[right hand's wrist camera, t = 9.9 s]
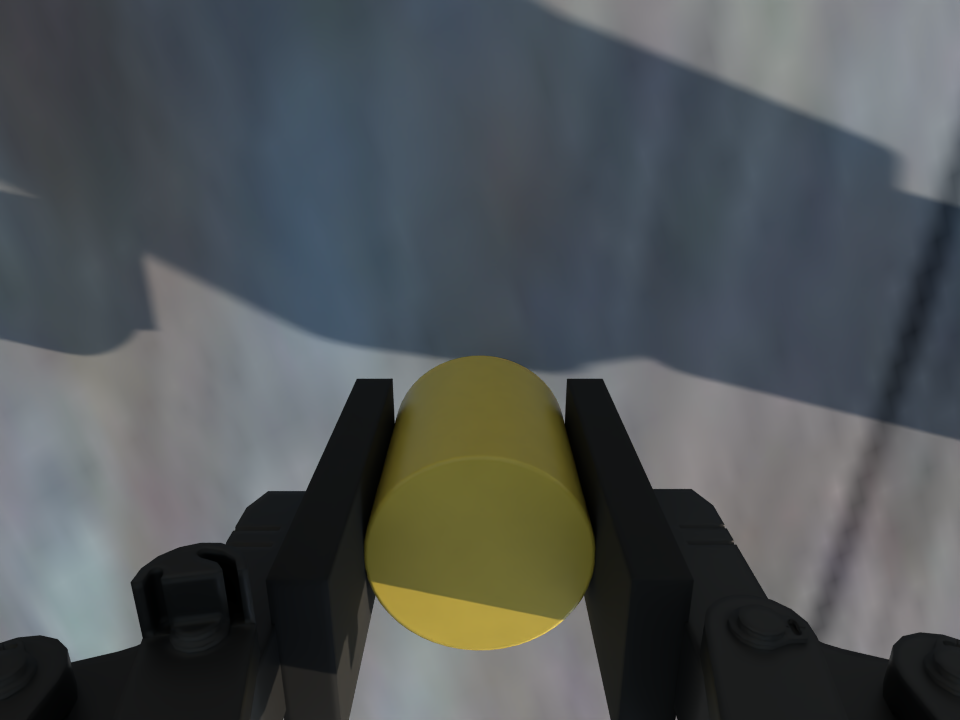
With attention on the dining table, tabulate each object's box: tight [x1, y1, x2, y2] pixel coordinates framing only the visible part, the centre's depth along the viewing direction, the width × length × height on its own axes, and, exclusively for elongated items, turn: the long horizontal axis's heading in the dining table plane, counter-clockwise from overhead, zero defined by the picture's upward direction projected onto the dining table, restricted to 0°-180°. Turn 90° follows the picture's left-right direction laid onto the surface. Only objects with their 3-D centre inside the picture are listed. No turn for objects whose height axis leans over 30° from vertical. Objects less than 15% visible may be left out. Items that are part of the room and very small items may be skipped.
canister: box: [364, 356, 596, 650], centre depth 13 cm, size 4×4×4 cm
